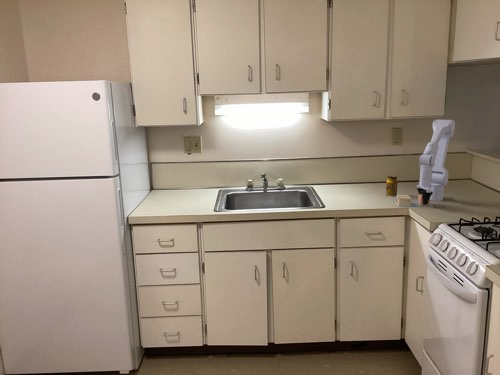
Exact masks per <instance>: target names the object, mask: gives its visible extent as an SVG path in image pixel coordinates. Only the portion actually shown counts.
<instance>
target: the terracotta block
mask: <svg viewBox="0 0 500 375" xmlns="http://www.w3.org/2000/svg"><path fill="white" fill-rule="evenodd" d="M417 198H418V200H417V201H418V204H419V205H420V206H430V204H431V200H430V199H429V202H428V204H423V200H422V194H419V193H418V197H417Z"/></svg>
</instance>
